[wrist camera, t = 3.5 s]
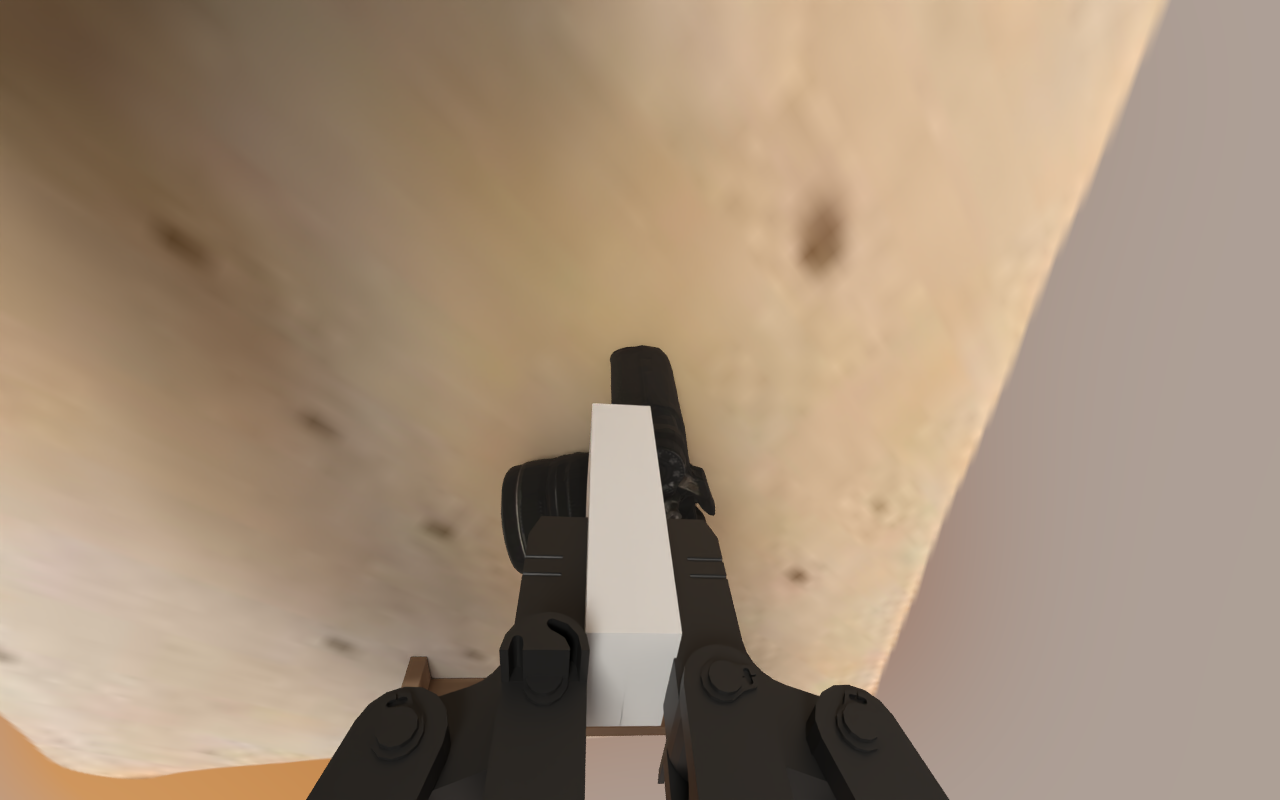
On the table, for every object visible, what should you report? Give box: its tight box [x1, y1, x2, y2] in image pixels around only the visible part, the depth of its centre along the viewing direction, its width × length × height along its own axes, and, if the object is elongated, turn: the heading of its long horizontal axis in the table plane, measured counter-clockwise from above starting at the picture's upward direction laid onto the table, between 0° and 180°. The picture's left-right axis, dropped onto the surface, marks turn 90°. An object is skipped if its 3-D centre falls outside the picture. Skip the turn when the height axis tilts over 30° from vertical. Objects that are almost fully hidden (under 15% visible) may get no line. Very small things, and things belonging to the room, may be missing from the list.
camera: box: [501, 345, 715, 574], centre depth 28 cm, size 14×11×10 cm
